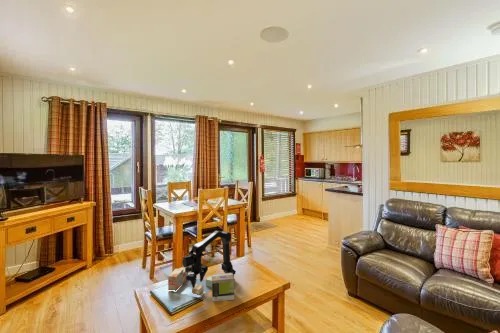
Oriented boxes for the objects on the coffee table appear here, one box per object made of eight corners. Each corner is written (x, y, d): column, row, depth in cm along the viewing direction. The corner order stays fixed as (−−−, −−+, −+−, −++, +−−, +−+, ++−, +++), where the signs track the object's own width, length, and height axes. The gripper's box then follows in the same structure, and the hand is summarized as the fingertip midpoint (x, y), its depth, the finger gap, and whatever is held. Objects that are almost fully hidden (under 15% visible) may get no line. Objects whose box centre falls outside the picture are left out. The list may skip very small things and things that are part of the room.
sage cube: (215, 284, 187) (215, 277, 187) (211, 287, 183) (211, 280, 182) (209, 282, 189) (209, 276, 189) (205, 285, 185) (205, 279, 184)
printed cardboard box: (180, 278, 197) (180, 263, 197) (188, 279, 196) (188, 263, 196) (168, 292, 176) (167, 275, 176) (176, 293, 175) (176, 276, 175)
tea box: (232, 292, 177) (233, 272, 176) (234, 300, 167) (234, 278, 167) (211, 294, 174) (211, 273, 174) (212, 302, 164) (212, 280, 164)
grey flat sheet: (217, 283, 189) (217, 283, 189) (200, 299, 167) (200, 298, 167) (197, 279, 196) (197, 278, 196) (179, 294, 174) (179, 293, 174)
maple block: (203, 292, 175) (203, 285, 175) (198, 296, 170) (198, 289, 170) (196, 290, 178) (196, 283, 177) (191, 294, 172) (191, 287, 172)
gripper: (195, 256, 185) (195, 276, 185) (179, 266, 167) (179, 288, 168) (208, 258, 180) (208, 279, 181) (193, 269, 163) (193, 292, 164)
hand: (197, 284), depth 173 cm, fingers open, 9 cm apart
